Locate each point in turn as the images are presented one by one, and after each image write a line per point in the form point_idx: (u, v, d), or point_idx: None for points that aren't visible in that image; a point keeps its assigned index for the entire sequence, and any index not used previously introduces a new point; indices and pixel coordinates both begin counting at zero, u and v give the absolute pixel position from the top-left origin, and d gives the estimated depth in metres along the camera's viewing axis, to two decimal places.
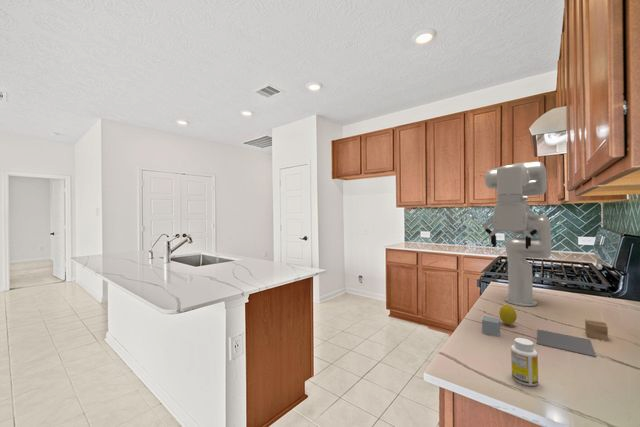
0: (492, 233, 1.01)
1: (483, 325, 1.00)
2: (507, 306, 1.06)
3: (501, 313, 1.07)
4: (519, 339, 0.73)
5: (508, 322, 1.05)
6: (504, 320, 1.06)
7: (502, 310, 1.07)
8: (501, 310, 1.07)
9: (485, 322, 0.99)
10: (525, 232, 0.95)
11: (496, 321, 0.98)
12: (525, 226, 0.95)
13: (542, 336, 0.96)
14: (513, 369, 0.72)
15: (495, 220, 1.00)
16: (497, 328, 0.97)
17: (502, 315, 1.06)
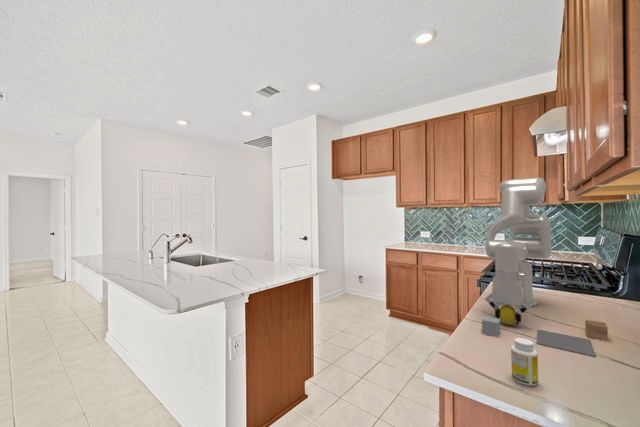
0: (495, 307, 1.08)
1: (483, 325, 1.00)
2: (507, 306, 1.06)
3: (501, 313, 1.07)
4: (519, 339, 0.73)
5: (508, 322, 1.05)
6: (504, 320, 1.06)
7: (502, 309, 1.07)
8: (501, 310, 1.07)
9: (485, 322, 0.99)
10: (517, 309, 1.04)
11: (496, 321, 0.98)
12: (521, 302, 1.03)
13: (542, 336, 0.96)
14: (513, 369, 0.72)
15: (494, 293, 1.08)
16: (497, 328, 0.97)
17: (502, 315, 1.06)
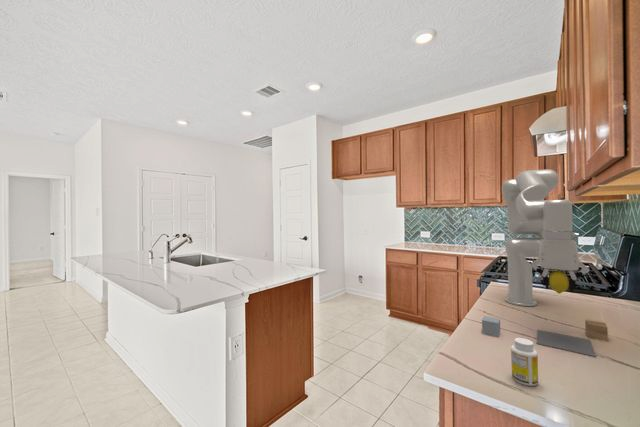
0: (544, 274, 0.95)
1: (483, 325, 1.00)
2: (558, 271, 0.93)
3: (551, 280, 0.93)
4: (519, 339, 0.73)
5: (560, 289, 0.91)
6: (555, 287, 0.92)
7: (552, 276, 0.93)
8: (550, 276, 0.93)
9: (485, 322, 0.99)
10: (571, 273, 0.90)
11: (496, 321, 0.98)
12: (577, 266, 0.89)
13: (542, 336, 0.96)
14: (513, 369, 0.72)
15: (542, 257, 0.94)
16: (497, 328, 0.97)
17: (553, 281, 0.92)
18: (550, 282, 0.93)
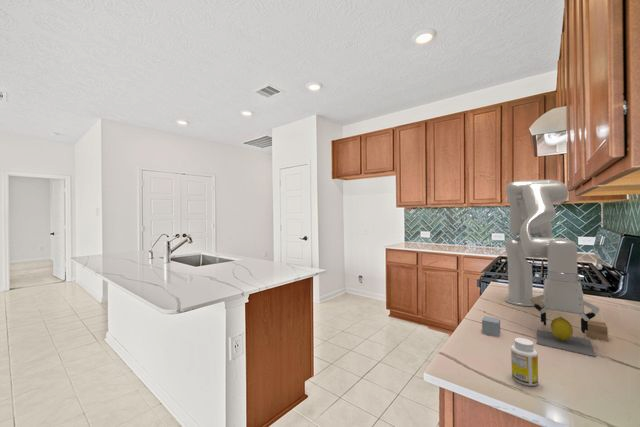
0: (542, 310, 0.95)
1: (483, 325, 1.00)
2: (561, 319, 0.92)
3: (554, 327, 0.92)
4: (519, 339, 0.73)
5: (563, 338, 0.91)
6: (558, 335, 0.91)
7: (555, 323, 0.92)
8: (553, 323, 0.93)
9: (485, 322, 0.99)
10: (581, 315, 0.88)
11: (496, 321, 0.98)
12: (582, 309, 0.88)
13: (542, 336, 0.96)
14: (513, 369, 0.72)
15: (546, 298, 0.93)
16: (497, 328, 0.97)
17: (556, 329, 0.92)
18: (553, 329, 0.93)
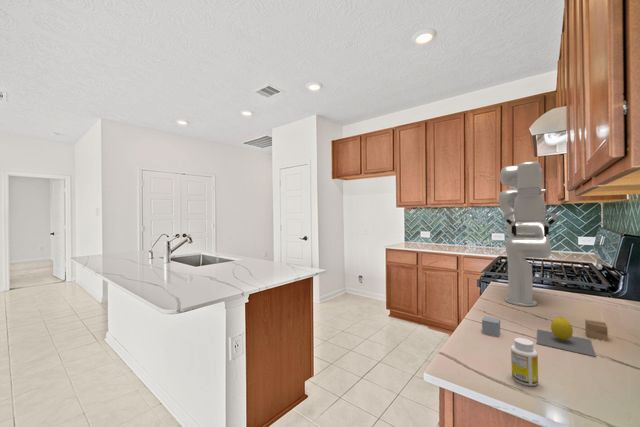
0: (513, 223, 1.12)
1: (483, 325, 1.00)
2: (561, 319, 0.92)
3: (554, 327, 0.92)
4: (519, 339, 0.73)
5: (563, 338, 0.91)
6: (558, 335, 0.91)
7: (555, 323, 0.92)
8: (553, 323, 0.93)
9: (485, 322, 0.99)
10: (544, 222, 1.06)
11: (496, 321, 0.98)
12: (544, 216, 1.05)
13: (542, 336, 0.96)
14: (513, 369, 0.72)
15: (516, 211, 1.11)
16: (497, 328, 0.97)
17: (556, 329, 0.92)
18: (553, 329, 0.93)
